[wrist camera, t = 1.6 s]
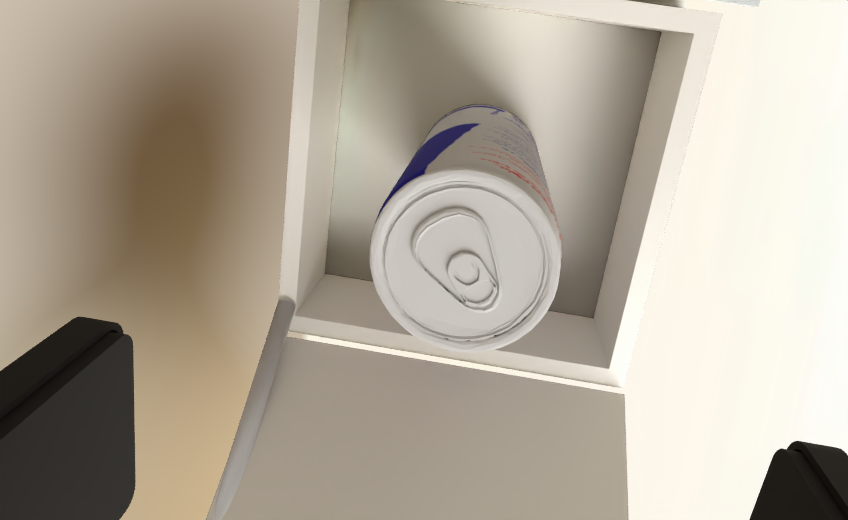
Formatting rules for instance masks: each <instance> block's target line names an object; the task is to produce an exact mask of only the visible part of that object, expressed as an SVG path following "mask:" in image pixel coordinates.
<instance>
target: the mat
mask: <svg viewBox="0 0 848 520" xmlns="http://www.w3.org/2000/svg"><path fill="white" fill-rule="evenodd" d="M707 1H714V2H722V3H729V4H736V5H743V6H750V7H756V6H759V3H760V0H707Z"/></svg>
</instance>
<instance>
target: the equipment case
mask: <svg viewBox="0 0 848 520" xmlns="http://www.w3.org/2000/svg"><path fill="white" fill-rule="evenodd" d="M445 1H452V2H459V3H466V4H473V5H480V6H487V7H494V8H501V9H508V10H515V11H522V12H529V13H536V14H543V15H550V16H557V17H564V18H571V19H578V20H585V21H592V22H599V23H606V24H613V25H620V26H627V27H634V28H641V29H648V30H655V31H662V33H661V37H660V41H659V46H658V50H657V54H656V58H655V62H654V66H653V71H652V75H651V79H650V83H649V87H648V92H647V96H646V100H645V104H644V108H643V113H642V117H641V121H640V125H639V129H638V134H637V138H636V142H635V146H634V150H633V155H632V159H631V163H630V167H629V171H628V175H627V180H626V184H625V188H624V192H623V196H622V201H621V205H620V209H619V213H618V217H617V222H616V226H615V230H614V234H613V238H612V243H611V247H610V251H609V255H608V259H607V264H606V268H605V272H604V276H603V280H602V285H601V289H600V293H599V297H598V301H597V305H596V310H595V314H594V318H589V317H583V316H577V315H571V314H565V313H559V312H553V311H547V313H546V314H545V315H544V317H543V318H542V319H541V321H540V322H539V323H538V324H537V325H536V326H535V327H534V328H533V329H532V330H531V331H529V332H528V333H527V334H525V335H524V336H522V337H521V338H519V339H518V340H516V341H514V342H512V343H511V344H508V345H506V346H504V347H501V348H498V349H494V350H490V351H483V352H465V353H463V352H456V351H450V350H445V349H442V348H438V347H435V346H433V345H431V344H428V343H426V342H424V341H422V340H420V339H418V338H417V337H415V336H413V335H412V334H411V333H409V332H408V331H407V330H405V329H404V328H403V327H402V326H401V325H400V324H399V323H398V322H397V321H396V320H395V319H394V318H393V317H392V316H391V314H390V313H389V312H388V310H387V309H386V307H385V305H384V304H383V302H382V300H381V298H380V297H379V295H378V293H377V291H376V288H375V285H374V282H372V281H366V280H360V279H354V278H348V277H342V276H336V275H330V274H325V265H326V254H327V243H328V232H329V221H330V210H331V200H332V189H333V178H334V167H335V156H336V145H337V135H338V124H339V113H340V102H341V91H342V80H343V70H344V59H345V48H346V37H347V26H348V15H349V5H350V0H299V11H298V24H297V25H298V26H297V41H296V54H295V68H294V83H293V97H292V113H291V126H290V140H289V155H288V170H287V184H286V198H285V199H286V200H285V213H284V227H283V242H282V257H281V271H280V285H279V300H278V304H277V307H276V310H275V313H274V317H273V320H272V323H271V326H270V329H269V332H268V335H267V338H266V342H265V345H264V348H263V351H262V354H261V357H260V360H259V363H258V367H257V370H256V373H255V376H254V379H253V382H252V385H251V389H250V392H249V395H248V398H247V401H246V404H245V407H244V411H243V414H242V417H241V420H240V423H239V426H238V430H237V433H236V436H235V439H234V442H233V445H232V448H231V451H230V454H229V458H228V461H227V463H226V466H225V469H224V472H223V474H222V477H221V480H220V483H219V485H218V488H217V491H216V494H215V496H214V499H213V502H212V504H211V507H210V510H209V513H208V515H207V518H206V520H628V490H627V459H626V429H625V398H624V394H618V393H613V392H607V391H601V390H595V389H589V388H583V387H578V386H572V385H566V384H560V383H554V382H548V381H543V380H537V379H531V378H525V377H519V376H513V375H508V374H502V373H496V372H490V371H484V370H478V369H473V368H467V367H461V366H455V365H449V364H443V363H438V362H432V361H426V360H420V359H414V358H408V357H403V356H397V355H391V354H385V353H379V352H373V351H368V350H362V349H356V348H350V347H344V346H339V345H333V344H327V343H321V342H315V341H309V340H304V339H298V338H292V337H287V334H288V331H291V332H297V333H303V334H309V335H314V336H320V337H326V338H332V339H338V340H344V341H349V342H355V343H361V344H367V345H373V346H379V347H385V348H390V349H396V350H402V351H408V352H414V353H420V354H425V355H431V356H437V357H443V358H449V359H455V360H461V361H466V362H472V363H478V364H484V365H490V366H496V367H501V368H507V369H513V370H519V371H525V372H531V373H537V374H542V375H548V376H554V377H560V378H566V379H572V380H577V381H583V382H589V383H595V384H601V385H607V386H613V387H618V388H624V384H625V380H626V376H627V373H628V369H629V365H630V361H631V357H632V354H633V350H634V346H635V342H636V339H637V335H638V331H639V327H640V323H641V320H642V316H643V312H644V308H645V304H646V301H647V297H648V293H649V289H650V286H651V282H652V278H653V274H654V270H655V267H656V263H657V259H658V255H659V252H660V248H661V244H662V240H663V236H664V233H665V229H666V225H667V221H668V217H669V214H670V210H671V206H672V202H673V199H674V195H675V191H676V187H677V183H678V180H679V176H680V172H681V168H682V165H683V161H684V157H685V153H686V149H687V146H688V142H689V138H690V134H691V131H692V127H693V123H694V119H695V115H696V112H697V108H698V104H699V100H700V96H701V93H702V89H703V85H704V81H705V78H706V74H707V70H708V66H709V62H710V59H711V55H712V51H713V47H714V44H715V40H716V36H717V32H718V28H719V25H720V21H721V17H722V14H720V13H713V12H706V11H699V10H692V9H685V8H678V7H670V6H663V5H656V4H649V3H642V2H635V1H628V0H445Z"/></svg>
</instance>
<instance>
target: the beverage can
mask: <svg viewBox="0 0 848 520" xmlns="http://www.w3.org/2000/svg"><path fill="white" fill-rule="evenodd" d="M561 259H562V246H561V235H560V230H559V226H558V223H557V219H556V215H555V212H554V208H553V205H552V201H551V197H550V194H549V190H548V186H547V183H546V179H545V175H544V172H543V168H542V165H541V161H540V157H539V154H538V150H537V146H536V143H535V141H534V138H533V136H532V134H531V133H530V131H529V130H528V128H527V127H526V126H525V125H524V123H523V122H522V121H521V120H519V119H518V118H517V117H516V116H514V115H513V114H512V113H510V112H508V111H506V110H504V109H502V108H499V107H495V106H492V105H484V104H476V105H468V106H464V107H461V108H458V109H455V110H453V111H451V112H450V113H448V114H446V115H445V116H444V117H442V118H441V119H440V120H439V121H438V122H437V123H436V124H435V125H434V126H433V128H432V129H431V130H430V132H429V133H428V135H427V137H426V139H425V140H424V142H423V143H422V145H421V146H420V148H419V149H418V151H417V153H416V154H415V156H414V157H413V159H412V160H411V162H410V163H409V165H408V166H407V168H406V170H405V171H404V173H403V174H402V176H401V177H400V179H399V180H398V182H397V184H396V185H395V187H394V188H393V190H392V191H391V193H390V194H389V196H388V198H387V199H386V201H385V202H384V204H383V206H382V208H381V209H380V212H379V214H378V217H377V219H376V222H375V226H374V229H373V233H372V236H371V242H370V251H369V260H370V269H371V274H372V279H373V282H374V285H375V288H376V291H377V293H378V295H379V297H380V298H381V300H382V302H383V304H384V305H385V307H386V309H387V310H388V312H389V313H390V314H391V316H392V317H393V318H394V319H395V320H396V321H397V322H398V323H399V324H400V325H401V326H402V327H403V328H404V329H405V330H407V331H408V332H409V333H411V334H412V335H413V336H415V337H417V338H418V339H420V340H422V341H424V342H426V343H428V344H431V345H433V346H435V347H438V348H442V349H445V350H450V351H456V352H463V353H465V352H483V351H490V350H494V349H498V348H501V347H504V346H506V345H508V344H511V343H512V342H514V341H516V340H518V339H519V338H521V337H522V336H524V335H525V334H527V333H528V332H529V331H531V330H532V329H533V328H534V327H535V326H536V325H537V324H538V323H539V322H540V321H541V319H542V318H543V317H544V315H545V314H546V313H547V311H548V309H549V307H550V305H551V303H552V301H553V299H554V297H555V294H556V291H557V288H558V283H559V276H560V268H561Z"/></svg>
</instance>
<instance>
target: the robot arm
mask: <svg viewBox="0 0 848 520" xmlns="http://www.w3.org/2000/svg"><path fill="white" fill-rule="evenodd" d="M133 373H134V372H133V341H132V339H131V337H130V336H129V335H126V334H123V330H122V328H121V326H120V325H119V324H118V323H115V322H109V321H102V320H97V319H92V318H86V317H77V318H74V319H72V320H71V321H70V322H68V323H67V324H65V325H64V326H63V327H61V328H60V329H58V330H57V331H56V332H54V333H53V334H51V335H50V336H49V337H47V338H46V339H44V340H43V341H42V342H40V343H39V344H38V345H36V346H35V347H33V348H32V349H30V350H29V351H28V352H26V353H25V354H24V355H22V356H21V357H19V358H18V359H17V360H15V361H14V362H12V363H11V364H10V365H8V366H7V367H5V368H4V369H3V370H1V371H0V520H119V519H120V518H121V517H122V515H123V514H124V513H125V511H126V510H127V508H128V507H129V504H130V503H131V500H132V497H133V494H134V490H135V435H134V434H135V433H134V377H133V376H134V375H133ZM750 520H848V455H847V454H846V453H845V452H844V451H843V450H842V449H839V448H835V447H829V446H824V445H818V444H812V443H806V442H801V441H795V442H793V443H791V444H790V446H789V447H788V448H787V450H786V449H779V450H777V452H776V453H775V454H774V456H773V458H772V461H771V463H770V466H769V469H768V471H767V474H766V477H765V480H764V482H763V485H762V488H761V490H760V493H759V496H758V498H757V501H756V504H755V506H754V509H753V512H752V515H751V517H750Z"/></svg>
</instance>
